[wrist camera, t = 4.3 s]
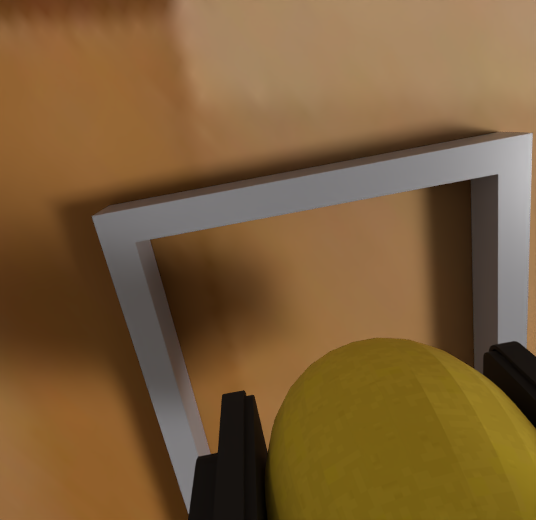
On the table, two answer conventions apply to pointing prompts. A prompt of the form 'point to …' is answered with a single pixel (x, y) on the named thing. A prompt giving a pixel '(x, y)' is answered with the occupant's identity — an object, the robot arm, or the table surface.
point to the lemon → (399, 440)
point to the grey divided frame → (305, 198)
